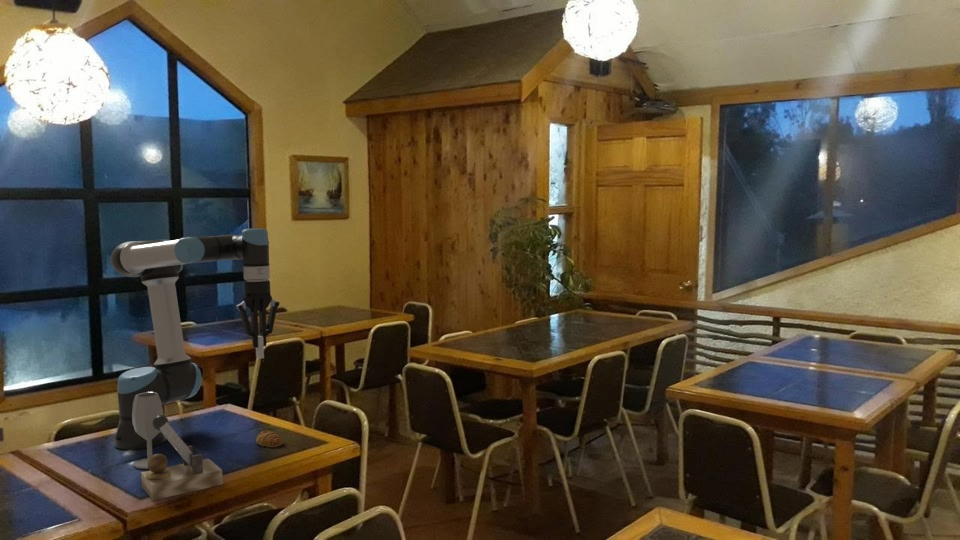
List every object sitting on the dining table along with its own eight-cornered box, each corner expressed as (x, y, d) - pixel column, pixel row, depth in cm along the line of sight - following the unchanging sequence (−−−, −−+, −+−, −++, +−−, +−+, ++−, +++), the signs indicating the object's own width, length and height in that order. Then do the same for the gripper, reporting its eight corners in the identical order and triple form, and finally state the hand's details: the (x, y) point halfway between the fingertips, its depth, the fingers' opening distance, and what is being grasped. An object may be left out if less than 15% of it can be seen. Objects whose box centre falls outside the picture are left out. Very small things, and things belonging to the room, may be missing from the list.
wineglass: (146, 471, 219) (142, 399, 217) (127, 466, 223) (123, 395, 221) (172, 462, 226) (169, 393, 224) (154, 458, 231) (150, 389, 229)
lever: (192, 473, 205) (152, 425, 199) (185, 465, 211) (146, 419, 204) (204, 462, 207) (165, 415, 200) (197, 455, 213) (159, 409, 206)
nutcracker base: (152, 500, 197) (150, 462, 197) (141, 486, 207) (139, 450, 206) (222, 484, 208) (221, 448, 207) (209, 472, 218) (207, 437, 217)
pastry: (289, 445, 242) (288, 433, 242) (271, 450, 237) (270, 438, 237) (271, 439, 248) (270, 427, 248) (253, 444, 243) (252, 433, 243)
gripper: (239, 282, 223) (243, 362, 225) (282, 279, 230) (285, 356, 233) (231, 280, 229) (234, 358, 231) (273, 277, 236) (276, 353, 239)
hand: (260, 357), depth 232 cm, fingers closed
